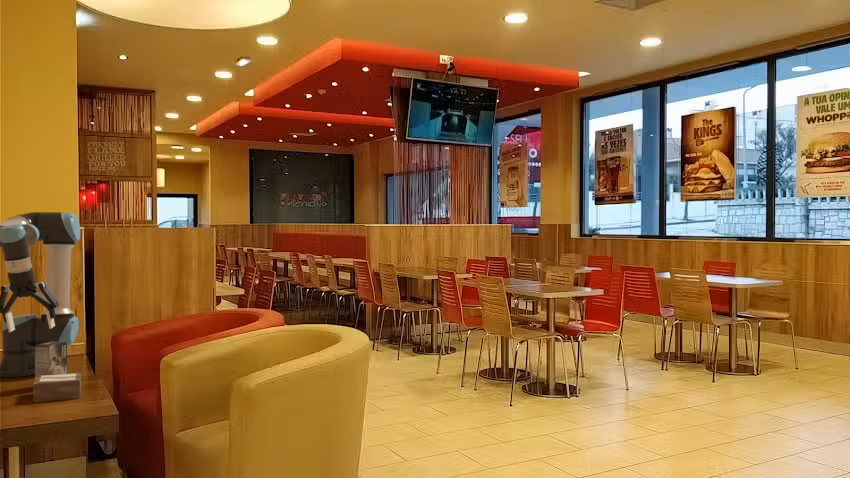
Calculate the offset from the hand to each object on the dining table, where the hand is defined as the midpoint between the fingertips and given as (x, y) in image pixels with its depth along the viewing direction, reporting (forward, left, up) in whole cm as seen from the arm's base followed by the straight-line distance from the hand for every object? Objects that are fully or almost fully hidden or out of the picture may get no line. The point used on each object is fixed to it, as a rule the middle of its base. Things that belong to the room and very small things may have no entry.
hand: (32, 329), depth 239 cm
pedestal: (+3, +8, -23) cm, 25 cm away
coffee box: (-13, +5, -23) cm, 27 cm away
